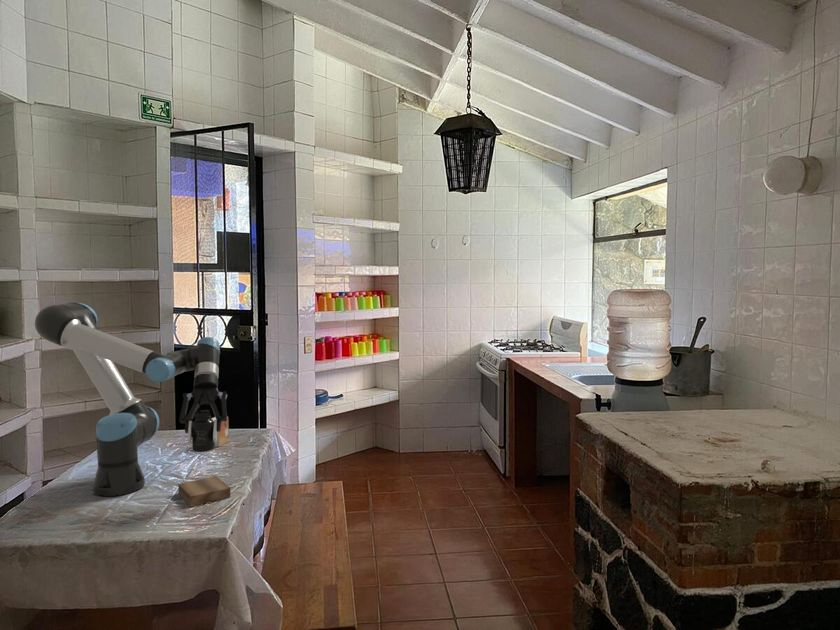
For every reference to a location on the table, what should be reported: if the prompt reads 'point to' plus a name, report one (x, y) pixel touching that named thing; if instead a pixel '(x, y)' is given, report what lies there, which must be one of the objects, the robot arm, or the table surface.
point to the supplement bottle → (202, 432)
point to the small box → (222, 433)
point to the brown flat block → (204, 490)
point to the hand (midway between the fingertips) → (202, 440)
